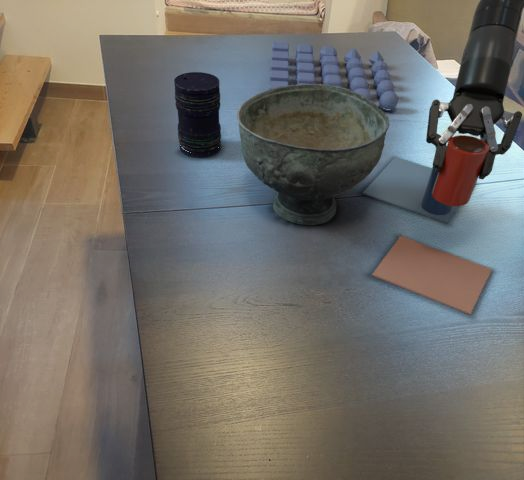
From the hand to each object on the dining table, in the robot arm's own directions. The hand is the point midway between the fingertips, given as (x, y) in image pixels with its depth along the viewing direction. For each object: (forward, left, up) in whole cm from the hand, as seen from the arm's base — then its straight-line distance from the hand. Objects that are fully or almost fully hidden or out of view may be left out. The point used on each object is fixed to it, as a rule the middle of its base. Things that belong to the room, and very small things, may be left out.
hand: (460, 174), depth 81 cm
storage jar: (+60, -11, -18) cm, 64 cm away
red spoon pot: (0, -2, -5) cm, 5 cm away
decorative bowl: (+28, -3, -18) cm, 33 cm away
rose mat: (-2, +2, -18) cm, 18 cm away
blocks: (+52, -63, -18) cm, 84 cm away
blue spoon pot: (+5, -19, -18) cm, 26 cm away
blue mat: (+10, -24, -18) cm, 32 cm away
